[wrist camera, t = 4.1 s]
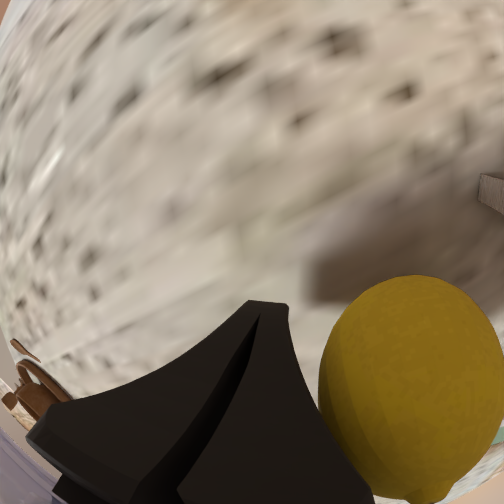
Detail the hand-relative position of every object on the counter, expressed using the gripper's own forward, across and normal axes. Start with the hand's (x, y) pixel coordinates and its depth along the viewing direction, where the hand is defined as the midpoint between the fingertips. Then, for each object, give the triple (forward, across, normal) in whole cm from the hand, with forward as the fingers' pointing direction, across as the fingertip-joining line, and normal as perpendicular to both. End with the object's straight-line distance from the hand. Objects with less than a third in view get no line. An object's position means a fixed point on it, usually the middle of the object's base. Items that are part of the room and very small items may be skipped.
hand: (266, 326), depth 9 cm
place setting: (+3, +31, +19) cm, 36 cm away
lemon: (+2, -5, 0) cm, 5 cm away
